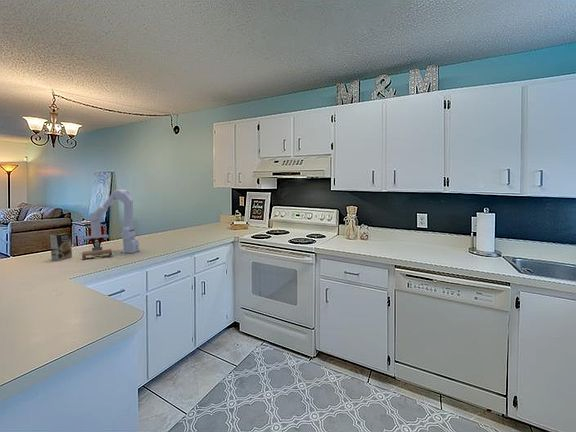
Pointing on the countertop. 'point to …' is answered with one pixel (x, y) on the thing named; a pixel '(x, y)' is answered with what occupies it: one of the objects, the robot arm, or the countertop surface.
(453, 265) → the countertop surface
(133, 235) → the robot arm
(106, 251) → the wooden stand
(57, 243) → the coffee box
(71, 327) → the countertop surface
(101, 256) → the puck
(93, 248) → the scraper
